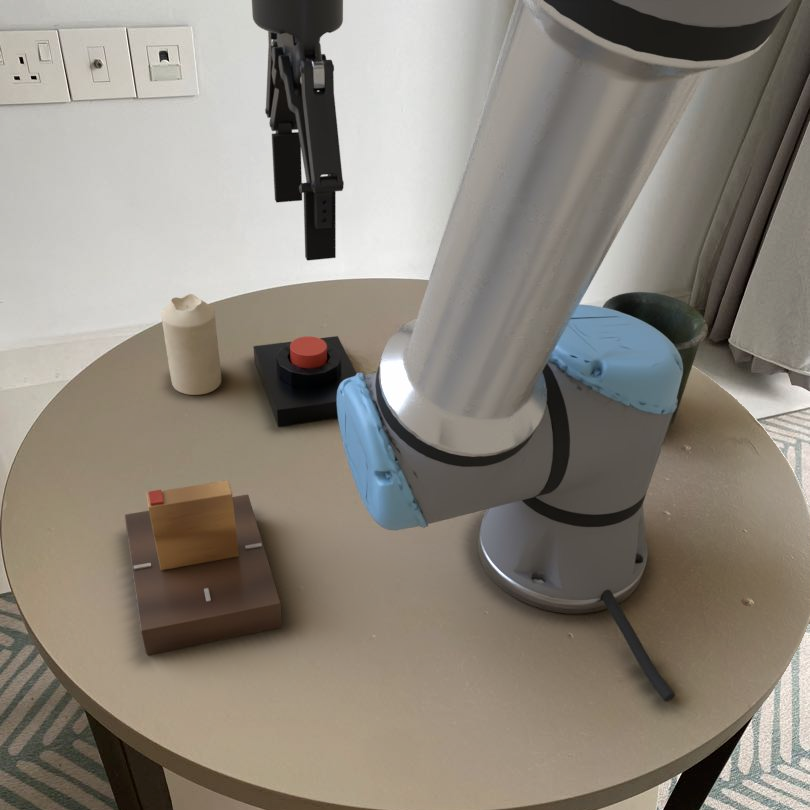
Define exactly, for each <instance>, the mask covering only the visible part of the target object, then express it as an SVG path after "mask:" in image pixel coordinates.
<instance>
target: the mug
mask: <svg viewBox="0 0 810 810" xmlns="http://www.w3.org/2000/svg"><path fill="white" fill-rule="evenodd" d="M602 307H603V308H608V309H612V310H615V311H619V312H622V313H624V314H627V315H630V316H632V317H635V318H637V319H639V320H641V321H643V322H645V323H647V324H649V325H651V326H652V327H654V328H655V329H657V330H658V331H660V332H661V333H662V334H663V335H665V336H666V337H667V338H668V339H669V340H670V341H671V342H672V343H673V345H674V346H675V347H676V349H677V350H678V352H679V354H680V356H681V359H682V364H683V375H682V379H681V383H680V387H679V391H678V394H677V400H678V403H677V408H676V409H675V411H674V412H673V415H672V418H671V421H670V424H669V427H668V430H669V429H670V428H671V427H672V426H673V424H674V423H675V419H676V417H677V414H678V411H679V409H680V406H681V402H682V399H683V395H684V393H685V389H686V387H687V383H688V380H689V376H690V374H691V372H692V369H693V364H694V361H695V360H696V357H697V356H696V355H697V353H698V349H699V346H700V343H702V342H703V341H704V340H705V339H706V337H707V335H708V332H709V330H708V329H709V327H708V322H707V320H706V318H705V317H704V316H703V314H701V312H699V311H698V309H696V308H694V307H693V306H692V305H690V304H688V303H687V302H685V301H682V300H680V299H678V298H675V297H672V296H668V295H666V294H660V293H656V292H650V291H649V292H648V291H631V292H624V293H619V294H616V295H614V296H612V297H610V298H609V299H607V300H606V301H605V303H603V305H602Z"/></svg>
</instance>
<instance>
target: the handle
mask: <svg viewBox="0 0 810 810" xmlns="http://www.w3.org/2000/svg"><path fill="white" fill-rule="evenodd" d="M145 496H146V503H147V508H148V511H149V513H150V518H151V523H152V528H153V533H154V538H155V543H156V548H157V553H158V558H159V563H160V568H161V570H166V569H172V568H177V567H183V566H188V565H194V564H199V563H205V562H210V561H216V560H222V559H227V558H233V557H238V556H239V551H238V542H237V533H236V524H235V515H234V506H233V497H234V496H233V492H232V487H231V484H230V481H229V480H222V481H215V482H208V483H202V484H196V485H190V486H189V485H188V486H183V487H178V488H176V487H175V488H171V489H164V490H162V489H155V490H149V491H148V492H146V493H145Z"/></svg>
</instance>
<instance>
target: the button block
mask: <svg viewBox="0 0 810 810" xmlns="http://www.w3.org/2000/svg"><path fill="white" fill-rule="evenodd" d="M319 338H320V339H322V340H323V341H325V343H326V344H327V362H326V364H324V365H322V366H321V367H316V368H302V367H297V366H295V365H293V364H292V362H291V357H290V344H291V342H292V341H285V342H277V343H267V344H261V345H253V361H254V364H255V367H256V370H257V373H258V376H259V378H260V380H261V384H262V386H263V390H264V392H265V394H266V397H267V401H268V403H269V406H270V408H271V412H272V414H273V417H274V420H275V422H276V425H277V427H278V428H279V427H288V426H293V425H300V424H307V423H314V422H321V421H328V420H335V419H336V420H337V419H338V413H337V391H338V387H339V385H340V383H341V382H342V381H343V380H345V379H347V378H350V377H353V376H356V374H357V373H358V372H357V371H356V369H355V367H354V366H353V363H352V362H351V359H350V358H349V355H348V354H347V352H346V350H345V348H344V345H343V344H342V341H341V340H340V338H339V336H338V335H334V336H328V337H327V336H326V337H319Z"/></svg>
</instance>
